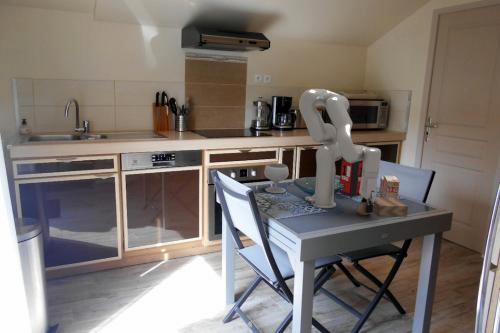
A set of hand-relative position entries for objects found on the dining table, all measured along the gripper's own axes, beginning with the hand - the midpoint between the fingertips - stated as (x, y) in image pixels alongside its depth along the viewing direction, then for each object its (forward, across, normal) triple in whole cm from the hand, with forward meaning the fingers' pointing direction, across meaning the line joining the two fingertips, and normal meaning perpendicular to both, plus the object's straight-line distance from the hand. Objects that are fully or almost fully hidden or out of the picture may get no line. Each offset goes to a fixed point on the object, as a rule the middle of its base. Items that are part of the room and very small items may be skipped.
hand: (366, 209), depth 184 cm
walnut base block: (+3, -6, +13) cm, 15 cm away
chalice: (+3, -39, -39) cm, 55 cm away
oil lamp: (+3, 0, 0) cm, 3 cm away
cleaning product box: (+3, -37, +7) cm, 38 cm away
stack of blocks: (+3, -30, +23) cm, 38 cm away
